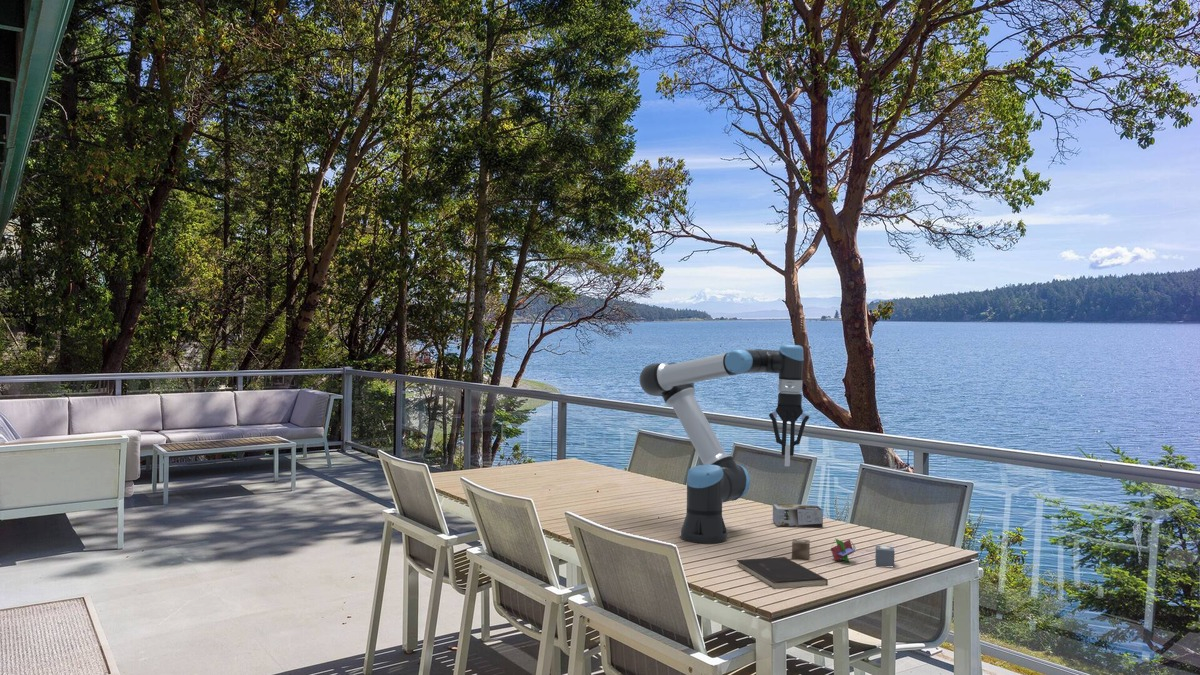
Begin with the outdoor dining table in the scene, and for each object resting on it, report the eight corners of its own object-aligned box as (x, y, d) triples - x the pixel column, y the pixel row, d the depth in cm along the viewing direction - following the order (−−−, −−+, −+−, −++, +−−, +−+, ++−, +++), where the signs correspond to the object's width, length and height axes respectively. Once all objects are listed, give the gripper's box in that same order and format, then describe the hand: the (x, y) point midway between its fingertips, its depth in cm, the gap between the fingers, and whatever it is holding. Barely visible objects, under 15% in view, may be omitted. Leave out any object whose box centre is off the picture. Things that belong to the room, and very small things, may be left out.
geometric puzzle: (832, 557, 248) (847, 535, 250) (820, 551, 255) (835, 529, 256) (849, 571, 250) (864, 549, 251) (837, 565, 257) (851, 543, 258)
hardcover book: (773, 590, 224) (774, 582, 224) (736, 567, 246) (736, 559, 246) (827, 586, 228) (827, 578, 228) (786, 564, 250) (786, 556, 250)
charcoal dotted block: (876, 566, 248) (876, 548, 248) (875, 562, 253) (875, 544, 253) (894, 568, 247) (894, 550, 247) (893, 563, 252) (893, 546, 252)
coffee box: (776, 526, 298) (822, 527, 297) (776, 508, 298) (823, 509, 297) (772, 521, 307) (817, 522, 306) (772, 503, 307) (817, 504, 307)
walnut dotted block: (791, 559, 255) (792, 541, 255) (792, 555, 259) (792, 538, 259) (808, 560, 253) (809, 543, 253) (809, 556, 258) (809, 539, 258)
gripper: (768, 392, 272) (765, 465, 272) (810, 394, 268) (807, 469, 268) (770, 390, 279) (767, 462, 279) (811, 393, 275) (808, 465, 276)
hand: (787, 465), depth 274 cm, fingers closed
